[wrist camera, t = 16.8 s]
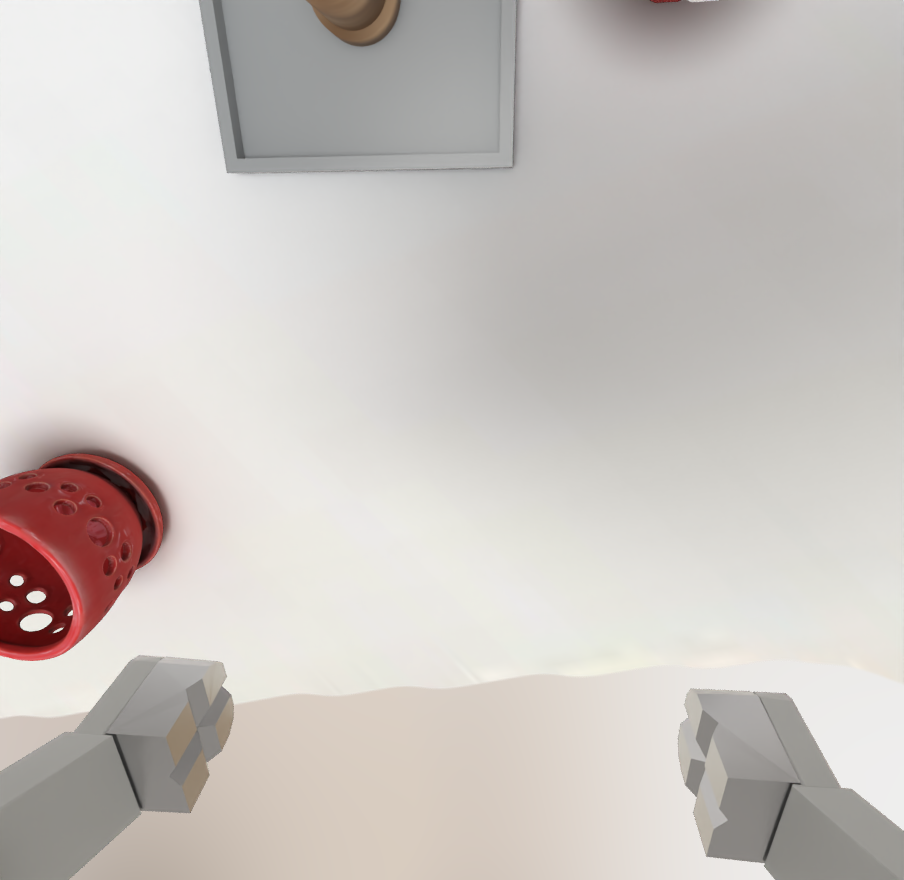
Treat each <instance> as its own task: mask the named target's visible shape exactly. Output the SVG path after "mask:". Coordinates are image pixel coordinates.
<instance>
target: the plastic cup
mask: <svg viewBox="0 0 904 880" xmlns="http://www.w3.org/2000/svg"><path fill="white" fill-rule="evenodd" d="M650 1H653V2H655V3H661V2H678V1H681V0H650ZM688 1H690V2H703V1H717V0H688Z"/></svg>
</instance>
